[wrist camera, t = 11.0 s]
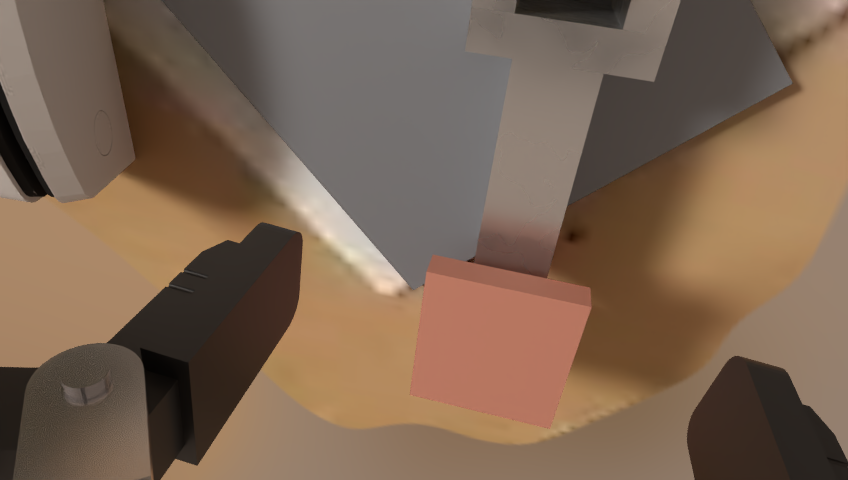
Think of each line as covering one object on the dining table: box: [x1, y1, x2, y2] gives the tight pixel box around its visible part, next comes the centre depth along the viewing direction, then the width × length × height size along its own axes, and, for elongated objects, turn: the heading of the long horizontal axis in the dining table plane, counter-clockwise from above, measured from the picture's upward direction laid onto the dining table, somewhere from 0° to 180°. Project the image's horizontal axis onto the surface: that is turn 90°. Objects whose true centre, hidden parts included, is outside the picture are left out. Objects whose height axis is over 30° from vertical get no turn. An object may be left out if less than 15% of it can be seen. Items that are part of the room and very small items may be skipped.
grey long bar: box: [465, 0, 681, 278], centre depth 21 cm, size 16×6×5 cm, turn 174°
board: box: [162, 0, 793, 290], centre depth 24 cm, size 20×18×1 cm
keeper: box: [410, 255, 592, 429], centre depth 25 cm, size 7×6×8 cm
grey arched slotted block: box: [0, 0, 136, 203], centre depth 24 cm, size 17×5×10 cm, turn 175°
